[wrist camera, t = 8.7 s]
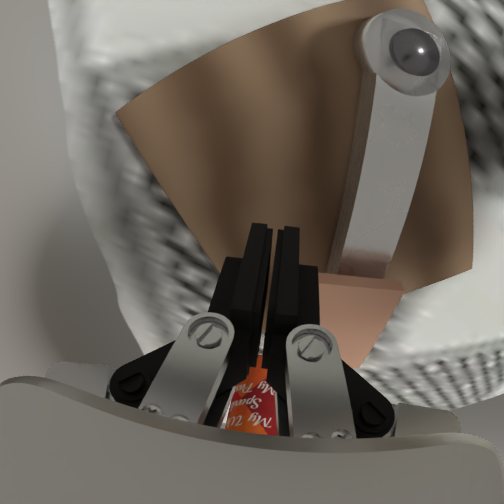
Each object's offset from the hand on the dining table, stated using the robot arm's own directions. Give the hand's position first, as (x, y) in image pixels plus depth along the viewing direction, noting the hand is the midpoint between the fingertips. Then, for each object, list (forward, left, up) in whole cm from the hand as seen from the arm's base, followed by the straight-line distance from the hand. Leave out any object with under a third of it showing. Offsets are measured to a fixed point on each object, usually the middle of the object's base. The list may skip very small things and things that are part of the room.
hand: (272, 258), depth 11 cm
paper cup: (+12, +23, -11) cm, 29 cm away
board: (-3, +3, -11) cm, 12 cm away
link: (-6, +2, -10) cm, 12 cm away
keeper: (0, +12, -11) cm, 16 cm away
